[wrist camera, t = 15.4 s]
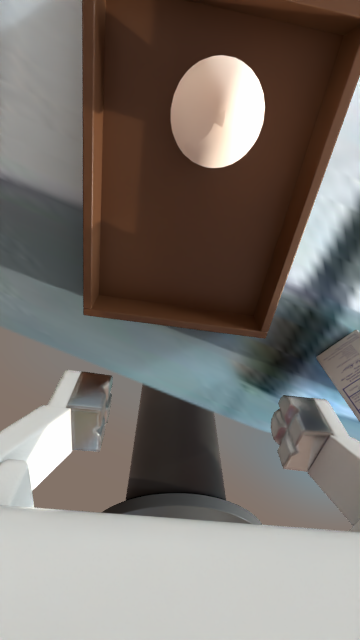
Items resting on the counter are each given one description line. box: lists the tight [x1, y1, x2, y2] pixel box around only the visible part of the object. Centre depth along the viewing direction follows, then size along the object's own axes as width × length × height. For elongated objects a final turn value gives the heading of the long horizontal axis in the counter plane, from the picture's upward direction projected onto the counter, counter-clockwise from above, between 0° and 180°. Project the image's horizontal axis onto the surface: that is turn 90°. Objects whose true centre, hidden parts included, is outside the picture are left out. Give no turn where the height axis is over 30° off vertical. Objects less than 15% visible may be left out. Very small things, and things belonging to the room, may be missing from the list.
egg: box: [171, 55, 265, 168], centre depth 16 cm, size 5×5×7 cm
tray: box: [82, 0, 360, 338], centre depth 20 cm, size 19×14×3 cm
